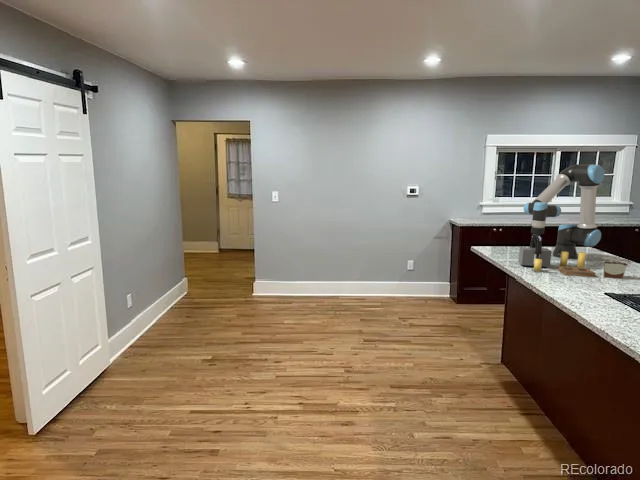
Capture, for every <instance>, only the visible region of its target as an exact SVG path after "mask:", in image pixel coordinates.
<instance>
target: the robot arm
mask: <svg viewBox="0 0 640 480" xmlns="http://www.w3.org/2000/svg"><path fill="white" fill-rule="evenodd" d="M604 179H605V170H604V168H603V167H602V166H601V165H599V164H592V163H591V164H590V163H589V164H587V163H586V164H581V163H578V164H573V165H570V166H568V167H567V168H565V169H563V170H561V171H560V172H559V173H558V174H557V175H556V178H555V179H554V180H553V181H552V182H551V183H550V184H549V185H548V186H547V187H546V188H545V189H544V190H543V191H542V192H541V193H540V194H539V195H538V196H537V197H536V198H534V200H533V201H531V202H526V203H525V204H524V205H523V212H524V213H525V214H527V215H530V216H531V215H532V218H531V219H532V220H531V221H530V223H531V228H530V229H531V230H530V234H531V238H530V245H529V247H530V248H535V251H536V253H534V254H535V257H534V263H535V259H539V257H540V254H541V251H542V248H543V247H542V245H543V237H542V235H544V234H545V231H546V230H545V227H546V220H547V218H557V217H560V215H561V213H562V208H561V207H560V205H557V204H549V203H550V202H551V201H552V200H553V199H554V198H555V197H556V196H557V195H558V194H559V193H560V192H561V191H562V190H563V189H564V188H565V187H566V186H569V185H570V184H572V183H578V187H579V188H580V204H579V205H580V206H579V207H580V208H579V223H577V224H574V223H567V224H566V223H565V224H560V225H559V226H558V230H557V236H556V237H557V239H556V245H555V247H554V249H553V250H552V256H553V257H555V258H560V259H561V252H562V251H565V252H569V254H568V260H569V259H573V260H575V259H578V252H577V249H576V245H581V246H585V247H595V246H597V244H599V242H600V241H601V238H602V232H601V230H600V229H598V225H597V224H596V206H597V203H596V202H597V189H598V187H600V184H601V183H602V182H603V181H604ZM538 251H539V252H538Z"/></svg>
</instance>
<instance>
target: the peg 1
mask: <svg viewBox="0 0 640 480" xmlns="http://www.w3.org/2000/svg"><path fill="white" fill-rule="evenodd" d="M568 254H569V252H565V251H562V252H561V258H560V260H559V266H561V267H568V262H569V261H568V260H569V258H568Z"/></svg>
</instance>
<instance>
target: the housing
mask: <svg viewBox="0 0 640 480" xmlns="http://www.w3.org/2000/svg"><path fill="white" fill-rule="evenodd" d="M518 252H519V253H518V261H517V262H518V264H520V265H521V266H531V267H534V257H535V254H534V253H536V251H535V248H530V246H528V247H525V246H520V247H519V251H518ZM538 252H539V251H538ZM552 254H553V250H552V249H549V248H545V247H542V251H541V254H540V257H539V259H542V267H548V268H549V267H550V266H551V262H552V261H551V260H552Z"/></svg>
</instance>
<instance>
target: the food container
mask: <svg viewBox="0 0 640 480" xmlns="http://www.w3.org/2000/svg"><path fill="white" fill-rule="evenodd" d="M602 264H603V278H605V279H615V280H623V279H624V276H625V272H626V269H627V267H629V264H628V262H627V261H624V260H618V259H613V258H612V259H608V258H607V259H604V260H603V262H602Z"/></svg>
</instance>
